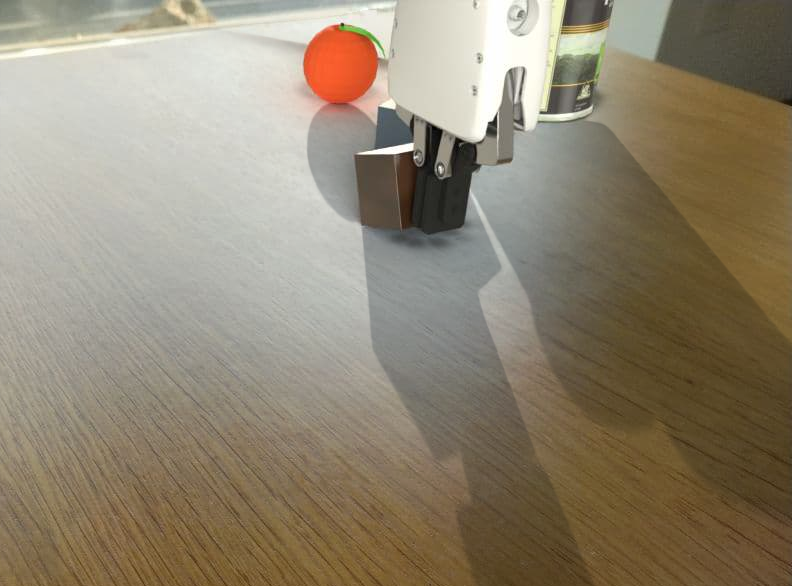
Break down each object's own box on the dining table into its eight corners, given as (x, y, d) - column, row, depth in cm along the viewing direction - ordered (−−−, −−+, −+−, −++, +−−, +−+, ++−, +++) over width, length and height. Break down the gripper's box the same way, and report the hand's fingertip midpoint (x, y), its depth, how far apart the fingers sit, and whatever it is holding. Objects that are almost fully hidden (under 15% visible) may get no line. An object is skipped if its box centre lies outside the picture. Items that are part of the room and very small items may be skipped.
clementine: (397, 99, 93) (404, 21, 89) (366, 120, 88) (372, 38, 84) (322, 86, 96) (326, 10, 92) (288, 105, 91) (290, 26, 87)
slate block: (456, 161, 80) (464, 100, 77) (429, 181, 77) (436, 118, 74) (401, 149, 82) (407, 89, 79) (373, 167, 79) (377, 106, 76)
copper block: (461, 216, 67) (455, 141, 66) (401, 230, 65) (393, 154, 64) (419, 212, 72) (412, 142, 70) (361, 225, 70) (353, 154, 68)
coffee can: (586, 90, 95) (617, -69, 87) (599, 126, 87) (636, -46, 79) (478, 84, 97) (499, -73, 89) (481, 119, 88) (505, -51, 80)
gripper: (627, -58, 51) (556, 262, 61) (454, -99, 62) (419, 179, 72) (513, -48, 48) (459, 285, 58) (352, -93, 59) (331, 195, 69)
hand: (437, 226), depth 65 cm, fingers closed
